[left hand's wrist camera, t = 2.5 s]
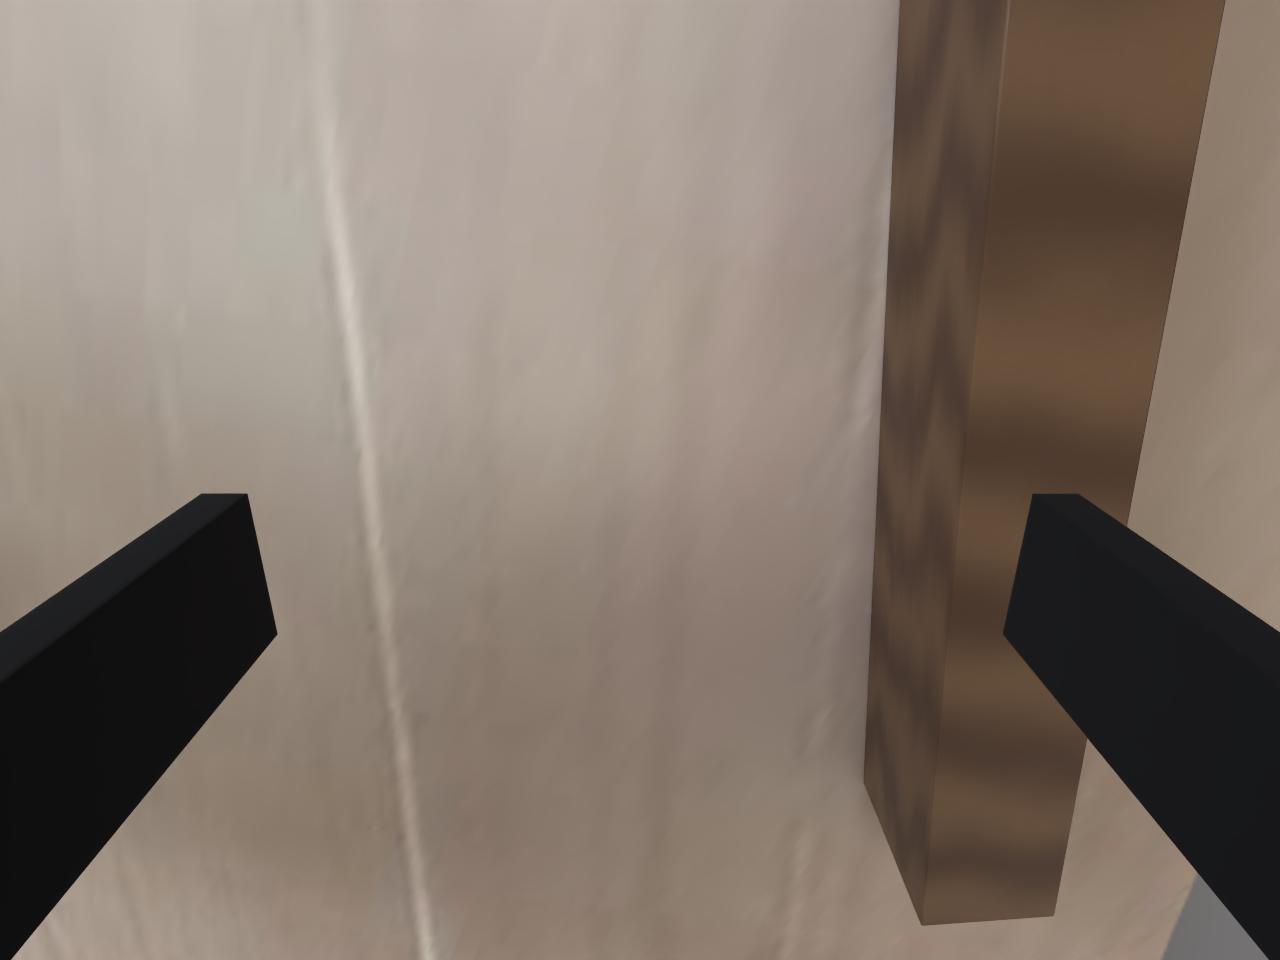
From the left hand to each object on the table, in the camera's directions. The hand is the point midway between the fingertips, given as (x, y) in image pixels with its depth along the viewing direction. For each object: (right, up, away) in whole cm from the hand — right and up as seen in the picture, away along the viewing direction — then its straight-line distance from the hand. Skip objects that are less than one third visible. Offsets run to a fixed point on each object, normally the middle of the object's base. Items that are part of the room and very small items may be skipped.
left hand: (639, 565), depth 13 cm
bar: (+11, +23, +11) cm, 28 cm away
